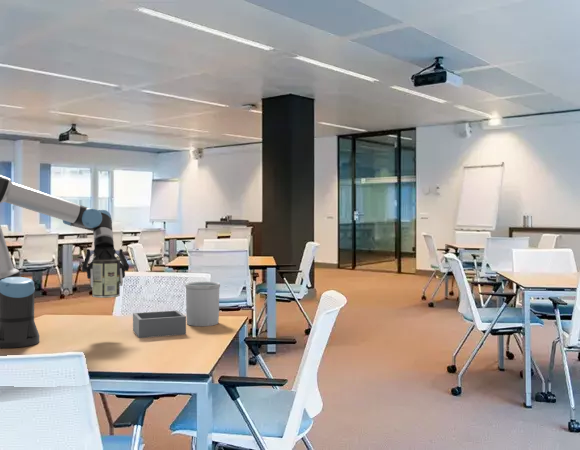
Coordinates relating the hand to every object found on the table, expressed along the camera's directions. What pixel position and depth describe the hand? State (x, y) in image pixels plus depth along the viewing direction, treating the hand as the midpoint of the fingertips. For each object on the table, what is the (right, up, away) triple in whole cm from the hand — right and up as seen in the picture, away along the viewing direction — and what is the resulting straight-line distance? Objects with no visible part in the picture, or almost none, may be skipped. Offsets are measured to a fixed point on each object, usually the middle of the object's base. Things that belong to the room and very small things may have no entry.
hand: (106, 283), depth 210 cm
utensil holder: (+32, -21, +30) cm, 48 cm away
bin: (+17, -20, +10) cm, 29 cm away
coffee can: (-1, -5, +3) cm, 6 cm away
